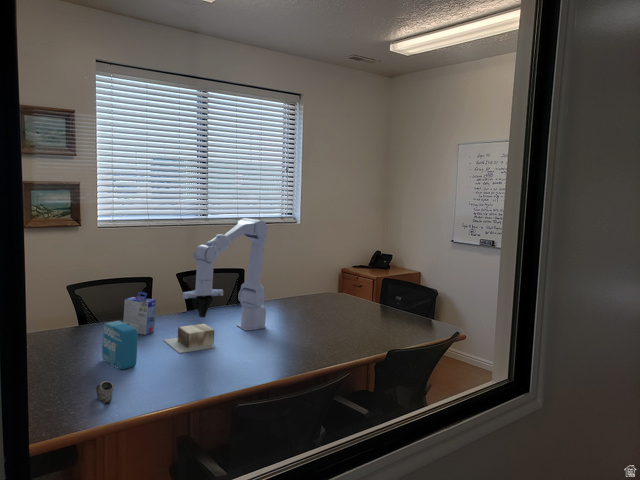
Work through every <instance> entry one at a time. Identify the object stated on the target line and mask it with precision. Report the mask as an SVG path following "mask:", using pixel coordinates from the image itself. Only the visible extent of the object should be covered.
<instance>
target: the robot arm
mask: <svg viewBox="0 0 640 480" xmlns="http://www.w3.org/2000/svg"><path fill="white" fill-rule="evenodd" d="M268 228H269V227H268V225H267V224H266V222H265V221H264V220H263V219H254V218H247V217H243V218H241V219H239V220H238V221H237V222H236V225H235V226H233V227H232V228H231V229H229V230H228V231H227V232H226V233H225V234H222V233H221V234H219V233H218V234H216V235H215V237H214V238H212V239H211V240H208V241H207V242H206V243H205V244H199V245H198V246H197V247H196V248H195V249H194V252H193V258H194V259H195V265H196V275H195V289H194V290H191V291H190V290H188V291H183V292H182V299H185V300H188V299H193V300H194V302H195V303H196V306H197V312H198V316H199V318H206V315H207V311H208V309H209V307H210V305H211V304H212V302H213V301H214V298H213V297H216V296H224V289H221V288H220V289H218V288H217V289H216V288H215V289H214V288H213V281H214V267H215V264H214V263H215V262H216V261H217V260H218V257H219V256H220V254H221V253H223V252H224V251H225V250H227V249H228V248H229V247H230V245H231V243H232V242H233V241H235V240H237V239H238V238H240V237H241V236H245V237H246V238H248V240H249V241H250V242H251V246H250V251H249V252H250V253H249V260H248V268H247V275H246V281H245V282H243V283H242V284H241V285H240V290H239V292H238V296H237V297H238V301H239V302H240V305H241V315H240V323H236V324H235V325H236V326H237V327H238V328H240V329H242V330H244V331H246V332H248V331H255V330H261V329H266V328H267V326H266V317H267V315H266V314H267V310H266V306H264V303H265V300H266V295H265V291H266V289H265V287H264V285H263V284H262V283H261V278H262V270H263V269H262V268H263V265H264V264H263V263H264V255H265V247H266V241H267V234H268Z"/></svg>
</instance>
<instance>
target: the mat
mask: <svg viewBox="0 0 640 480" xmlns="http://www.w3.org/2000/svg"><path fill="white" fill-rule="evenodd" d="M163 342H164V343H166V344H167V345H168V346H169V347H171V348H172V349H173V350H174V351H176V352H177V353H178V354H184V353H185V354H186V353H191V352H195V351H203V350H208V349H213V348H216V346H215V345H214V344H208V345H202V346H196V347H189V348H186V347H185V346H184V345H182V344H181V343H180V342H178V337H174V338H168V339H167V338H166V339H163Z"/></svg>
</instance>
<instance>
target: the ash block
mask: <svg viewBox="0 0 640 480" xmlns="http://www.w3.org/2000/svg"><path fill="white" fill-rule="evenodd" d="M215 332H216V331H215V329H213V328H212V327H211V326H209V325H208V324H207V323H206V324H205V323H201V324H200V323H199V324H198V323H197V324H192V325H185V326H184V325H183V326H178V328H177V338H178V342H180V343H181V344H182V345H184V346H185V347H186V348H189V347H196V346H202V345H208V344H212V345H214V344H215Z"/></svg>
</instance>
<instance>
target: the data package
mask: <svg viewBox="0 0 640 480" xmlns="http://www.w3.org/2000/svg"><path fill="white" fill-rule="evenodd" d="M138 336H139V334H138V332H137V330H136V328H134V327H131V326H129V325H127V324H125V323H123V322H122V321H121V320H115V321H110V322H106V323H104V324H103V326H102V345H101V347H102V351H101V357H102V360H103V361H104V360H105V361H107V362H108V364H109V363H110V364H109V365H111V364H112V365H114V366H116V367H118V368H119V369H118V368H117V369H118V370H120V369H121V370H120V371H122V369H123V370H127V369H130V368H134V367H136V365H137V360H138V359H137V357H138V356H137V354H138V339H139V337H138ZM105 361H104V362H105ZM107 362H106V363H107ZM112 365H111V366H112ZM114 366H113V367H114ZM116 367H115V368H116ZM126 368H127V369H126Z"/></svg>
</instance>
